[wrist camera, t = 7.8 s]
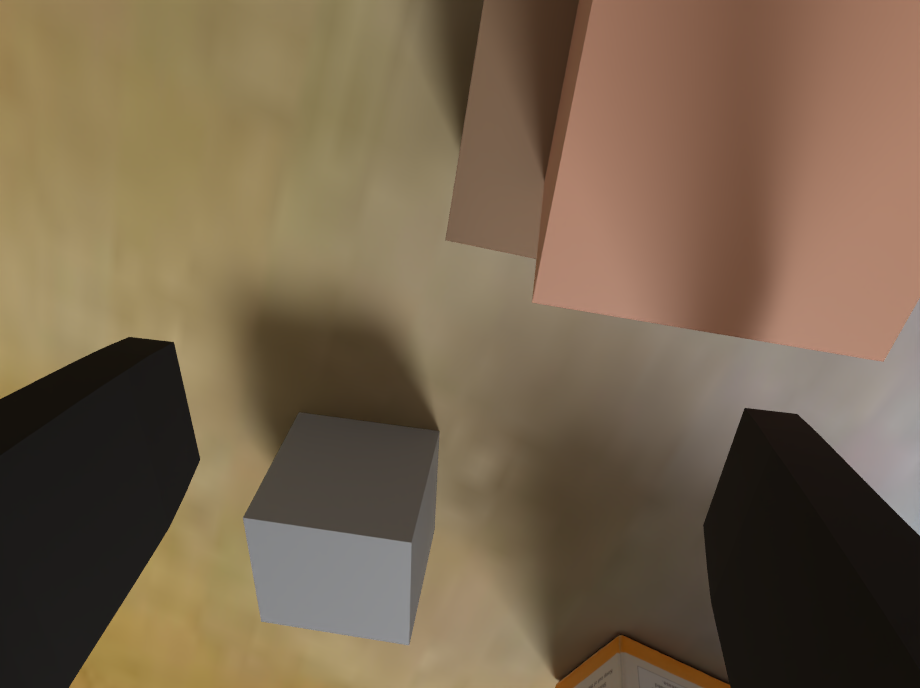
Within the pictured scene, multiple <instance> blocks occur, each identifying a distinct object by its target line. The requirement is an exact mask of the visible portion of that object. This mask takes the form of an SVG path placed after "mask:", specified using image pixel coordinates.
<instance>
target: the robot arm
mask: <svg viewBox="0 0 920 688" xmlns="http://www.w3.org/2000/svg"><path fill="white" fill-rule="evenodd" d="M199 461H200V456H199V452H198V448H197V443H196V439H195V434H194V430H193V425H192V421H191V416H190V412H189V407H188V403H187V399H186V394H185V390H184V385H183V381H182V376H181V372H180V367H179V363H178V359H177V354H176V350H175V345H174V342H168V341H159V340H151V339H142V338H133V337H128V338H126V339H123V340H121V341H119V342H116V343H114V344H111V345H109V346H107V347H105V348H102V349H100V350H98V351H96V352H94V353H92V354H90V355H88V356H85V357H83V358H81V359H79V360H77V361H75V362H73V363H71V364H69V365H67V366H65V367H63V368H61V369H59V370H57V371H55V372H53V373H51V374H49V375H47V376H45V377H43V378H41V379H39V380H37V381H35V382H33V383H31V384H29V385H28V386H26V387H24V388H22V389H20V390H18V391H16V392H14V393H12V394H10V395H8V396H6V397H4V398H2V399H0V688H69V686H70V685H71V683H72V681H73V680H74V678H75V677H76V675H77V674H78V672H79V670H80V669H81V667H82V666H83V664H84V663H85V661H86V659H87V658H88V656H89V655H90V653H91V651H92V650H93V648H94V647H95V645H96V644H97V642H98V640H99V639H100V637H101V636H102V634H103V633H104V631H105V629H106V628H107V626H108V625H109V623H110V621H111V620H112V618H113V617H114V615H115V614H116V612H117V610H118V609H119V607H120V606H121V604H122V603H123V601H124V599H125V598H126V596H127V595H128V593H129V592H130V590H131V588H132V587H133V585H134V584H135V582H136V581H137V579H138V577H139V576H140V574H141V572H142V571H143V569H144V568H145V566H146V564H147V563H148V561H149V560H150V558H151V556H152V555H153V553H154V552H155V550H156V548H157V547H158V545H159V543H160V542H161V540H162V539H163V537H164V535H165V534H166V532H167V530H168V529H169V527H170V525H171V523H172V521H173V519H174V517H175V514H176V512H177V510H178V508H179V506H180V504H181V502H182V500H183V498H184V496H185V493H186V491H187V489H188V486H189V484H190V482H191V479H192V477H193V475H194V473H195V470H196V468H197V466H198V463H199ZM703 527H704V538H705V549H706V560H707V570H708V578H709V587H710V596H711V603H712V608H713V613H714V617H715V622H716V626H717V630H718V635H719V639H720V644H721V648H722V652H723V657H724V661H725V665H726V670H727V674H728V678H729V682H730V687H731V688H920V536H919V535H918V534H917V533H916V532H915V531H914V530H913V529H912V528H911V527H910V526H909V525H908V524H907V523H906V522H905V521H904V520H903V519H902V518H901V517H900V516H899V515H898V514H897V513H896V512H895V511H894V510H893V509H892V508H891V507H890V506H889V505H888V504H887V503H886V502H885V501H884V500H883V499H882V498H881V497H880V496H879V495H878V494H877V493H876V492H875V491H874V490H873V489H872V488H871V487H870V486H869V485H868V484H867V483H866V482H865V481H864V480H863V479H862V478H861V477H860V476H859V475H858V474H857V473H856V472H855V471H854V470H853V469H852V468H851V467H850V466H849V465H848V464H847V462H846V461H845V460H844V459H843V458H842V457H841V456H840V455H839V454H838V453H837V452H836V451H835V450H834V449H833V448H832V447H831V446H830V445H829V444H828V443H827V442H826V441H825V440H824V439H823V438H822V437H821V436H820V435H819V434H818V433H817V432H816V431H815V430H814V429H813V428H812V427H811V426H810V425H808V424H807V423H806V422H805V421H804V420H803V419H802V418H801V417H800V416H799V415H798V414H792V413H783V412H775V411H766V410H757V409H749V408H745V409H744V412H743V414H742V417H741V420H740V423H739V426H738V428H737V431H736V434H735V437H734V440H733V443H732V445H731V448H730V451H729V454H728V457H727V460H726V462H725V465H724V468H723V471H722V474H721V477H720V479H719V482H718V485H717V488H716V491H715V494H714V496H713V499H712V502H711V505H710V508H709V510H708V513H707V516H706V519H705V522H704V525H703Z"/></svg>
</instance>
